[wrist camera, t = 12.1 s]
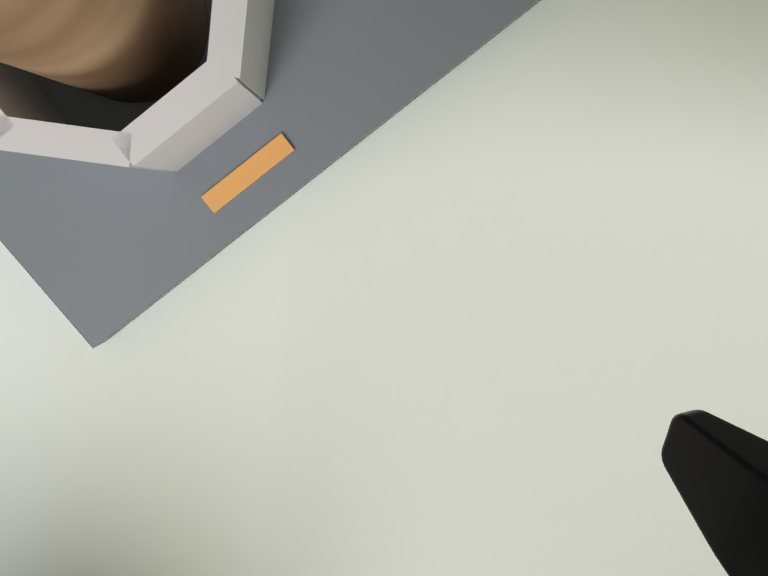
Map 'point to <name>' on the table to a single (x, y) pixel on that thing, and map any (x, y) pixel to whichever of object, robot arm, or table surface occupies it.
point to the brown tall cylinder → (106, 43)
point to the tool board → (209, 141)
